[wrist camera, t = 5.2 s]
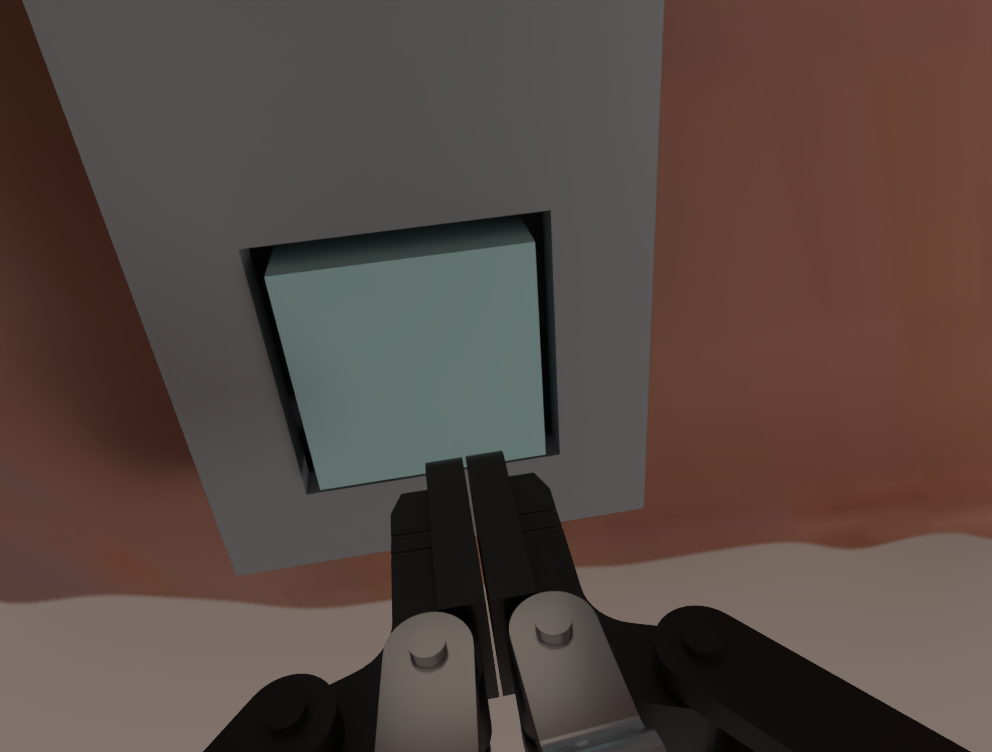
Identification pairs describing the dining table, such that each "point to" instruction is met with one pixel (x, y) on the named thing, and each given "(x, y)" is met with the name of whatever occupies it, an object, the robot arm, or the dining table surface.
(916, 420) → the dining table surface
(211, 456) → the key box
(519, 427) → the teal key
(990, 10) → the dining table surface
